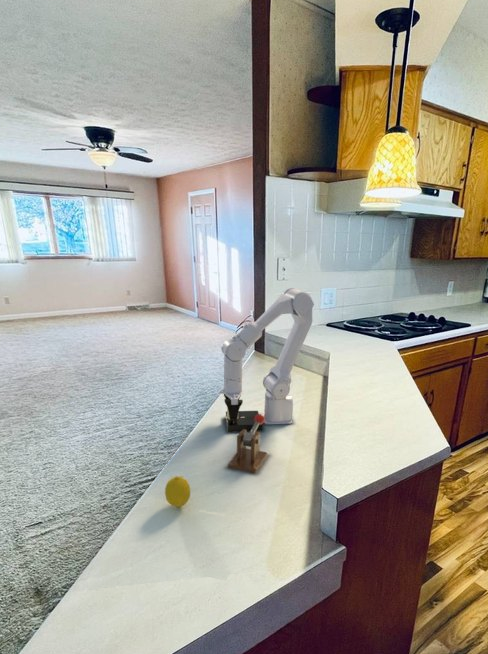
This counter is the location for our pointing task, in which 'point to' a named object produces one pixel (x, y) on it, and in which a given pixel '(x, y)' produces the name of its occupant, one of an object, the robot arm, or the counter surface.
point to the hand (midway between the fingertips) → (232, 416)
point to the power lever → (253, 430)
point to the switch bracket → (248, 454)
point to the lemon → (177, 491)
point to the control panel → (242, 422)
